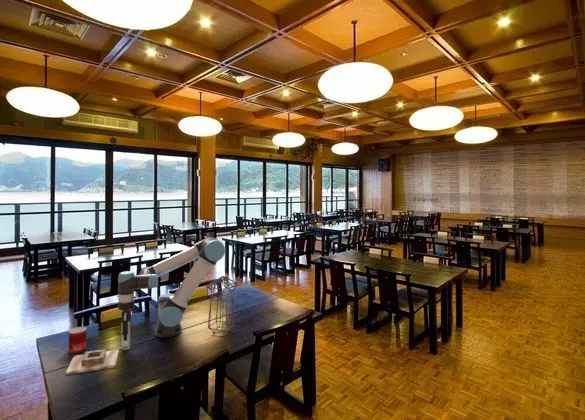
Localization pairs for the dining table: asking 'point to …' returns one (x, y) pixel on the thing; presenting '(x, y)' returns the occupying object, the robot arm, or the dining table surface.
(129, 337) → the peg
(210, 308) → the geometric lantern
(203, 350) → the dining table surface
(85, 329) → the canned food
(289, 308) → the dining table surface
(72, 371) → the socket board
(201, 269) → the robot arm
